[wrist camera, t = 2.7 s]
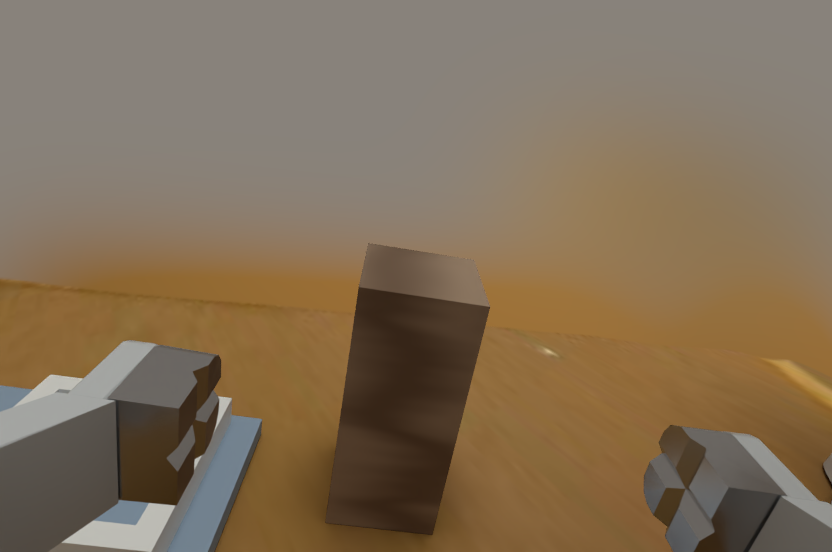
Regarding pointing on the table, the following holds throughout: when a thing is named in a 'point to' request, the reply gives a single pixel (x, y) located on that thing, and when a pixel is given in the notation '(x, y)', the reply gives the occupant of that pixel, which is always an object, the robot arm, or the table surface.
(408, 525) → the pillar
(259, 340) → the table surface
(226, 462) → the baseplate
